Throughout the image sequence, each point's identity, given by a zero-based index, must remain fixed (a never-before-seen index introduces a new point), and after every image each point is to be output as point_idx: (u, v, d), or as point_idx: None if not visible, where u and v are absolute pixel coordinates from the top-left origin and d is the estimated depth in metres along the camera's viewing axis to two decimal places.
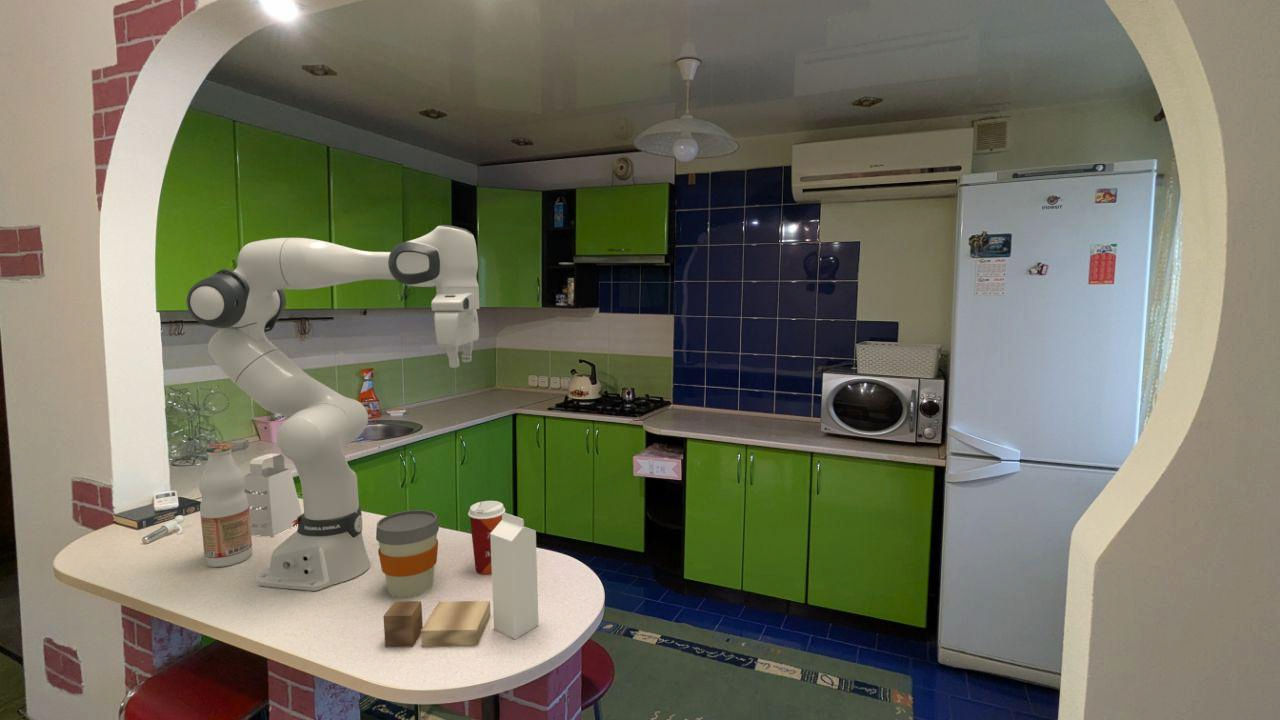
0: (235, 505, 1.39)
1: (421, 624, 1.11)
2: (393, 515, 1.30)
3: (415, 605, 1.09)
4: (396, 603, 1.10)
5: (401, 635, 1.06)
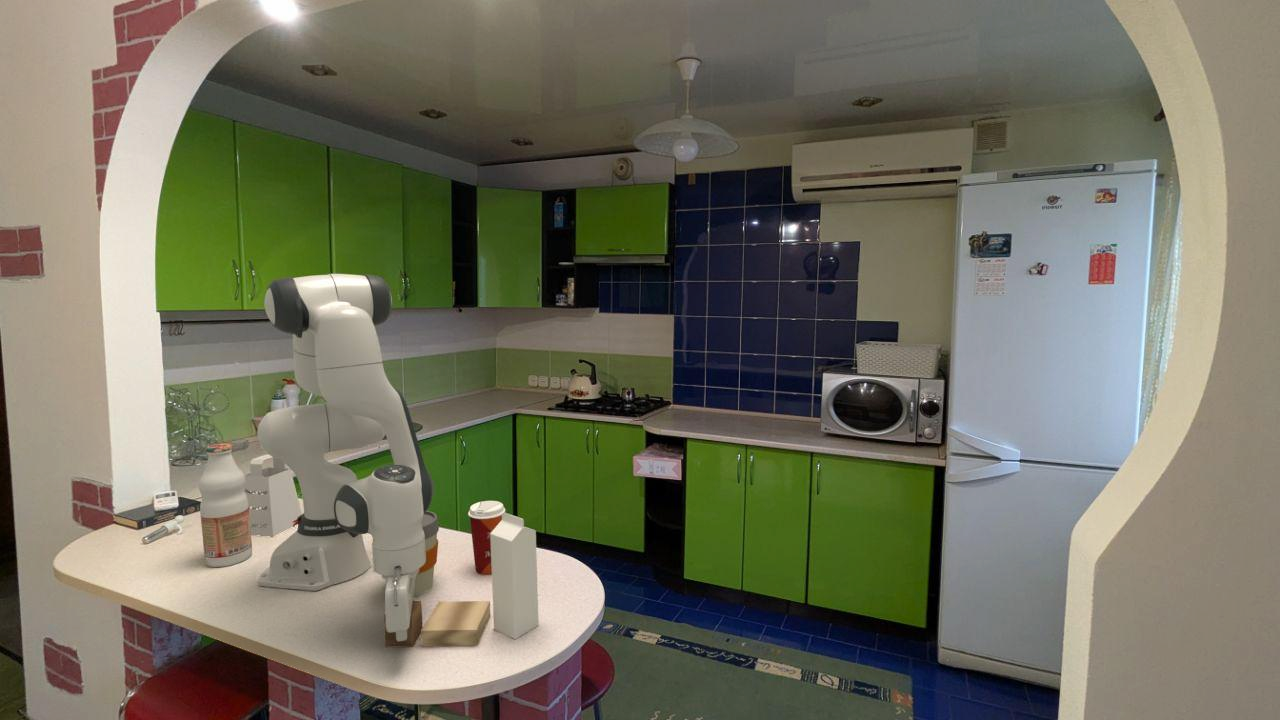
0: (235, 505, 1.39)
1: (421, 624, 1.11)
2: None
3: (415, 605, 1.09)
4: None
5: None
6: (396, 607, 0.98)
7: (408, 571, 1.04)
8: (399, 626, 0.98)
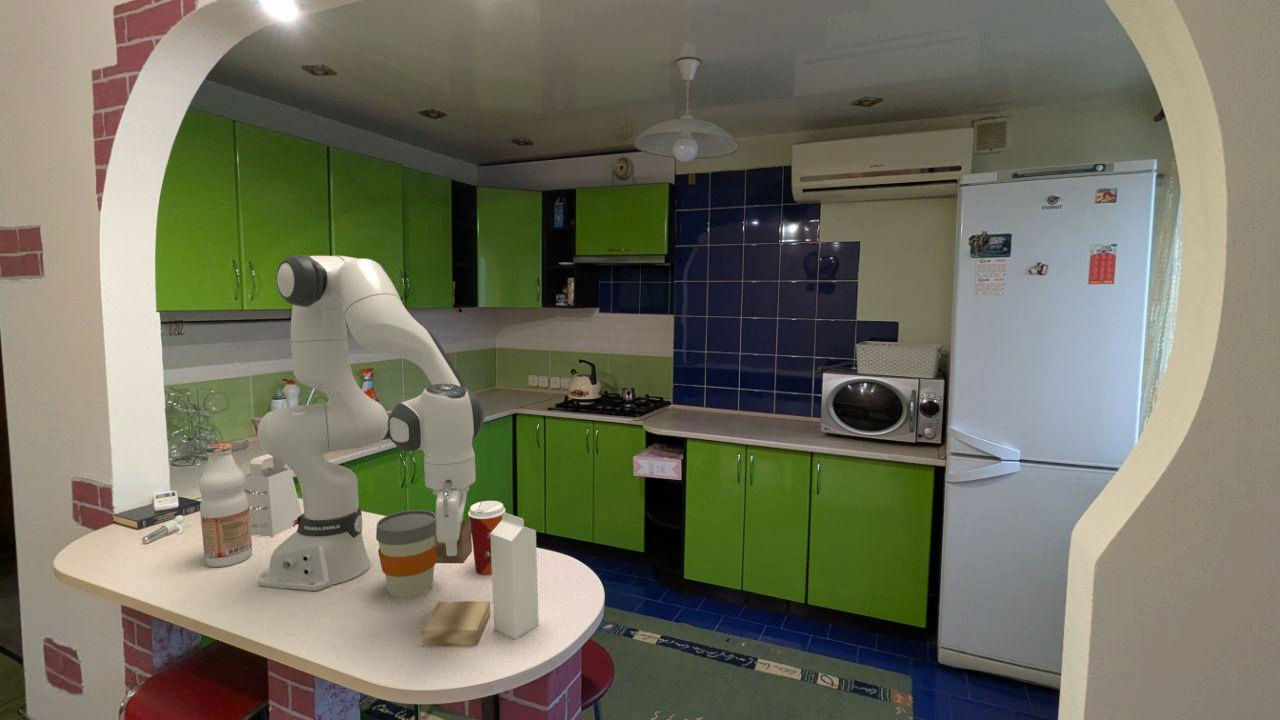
0: (235, 505, 1.39)
1: (470, 544, 1.11)
2: (393, 515, 1.30)
3: (464, 524, 1.10)
4: None
5: None
6: (446, 517, 0.99)
7: (458, 486, 1.05)
8: (449, 536, 0.99)
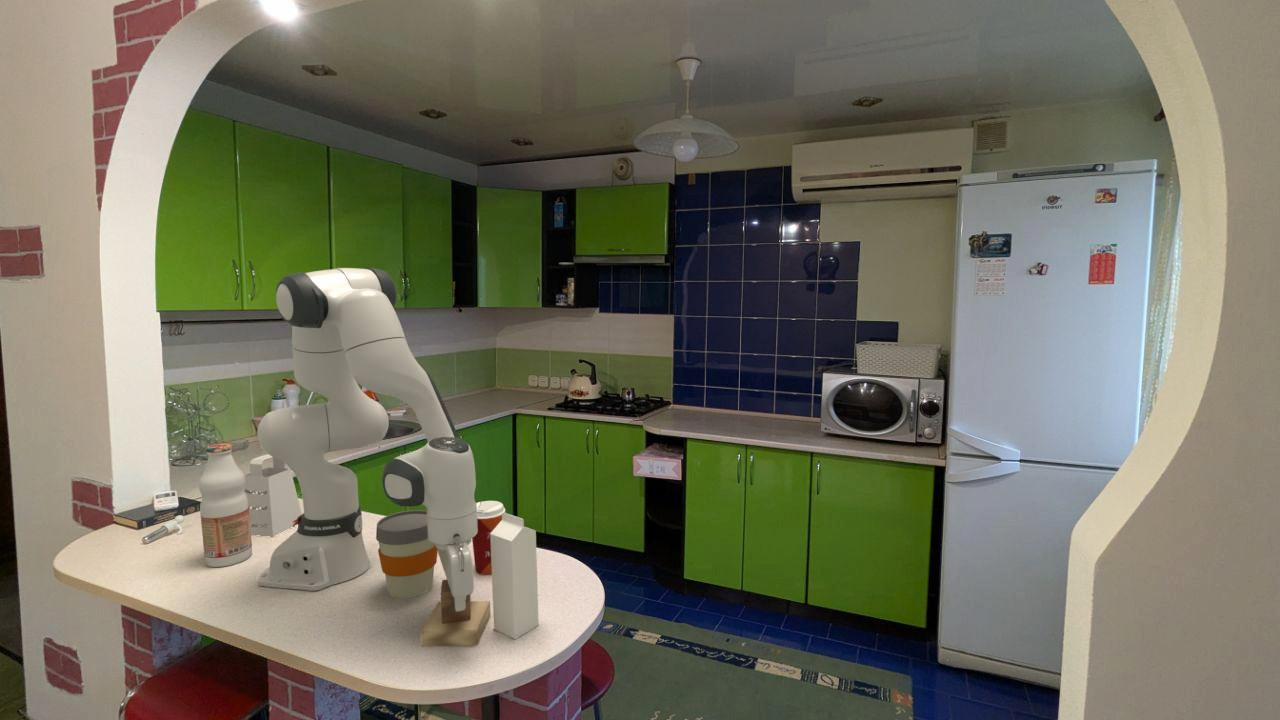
0: (235, 505, 1.39)
1: (470, 599, 1.13)
2: (393, 515, 1.30)
3: None
4: (445, 581, 1.12)
5: None
6: (462, 572, 1.01)
7: (466, 539, 1.06)
8: (465, 590, 1.01)
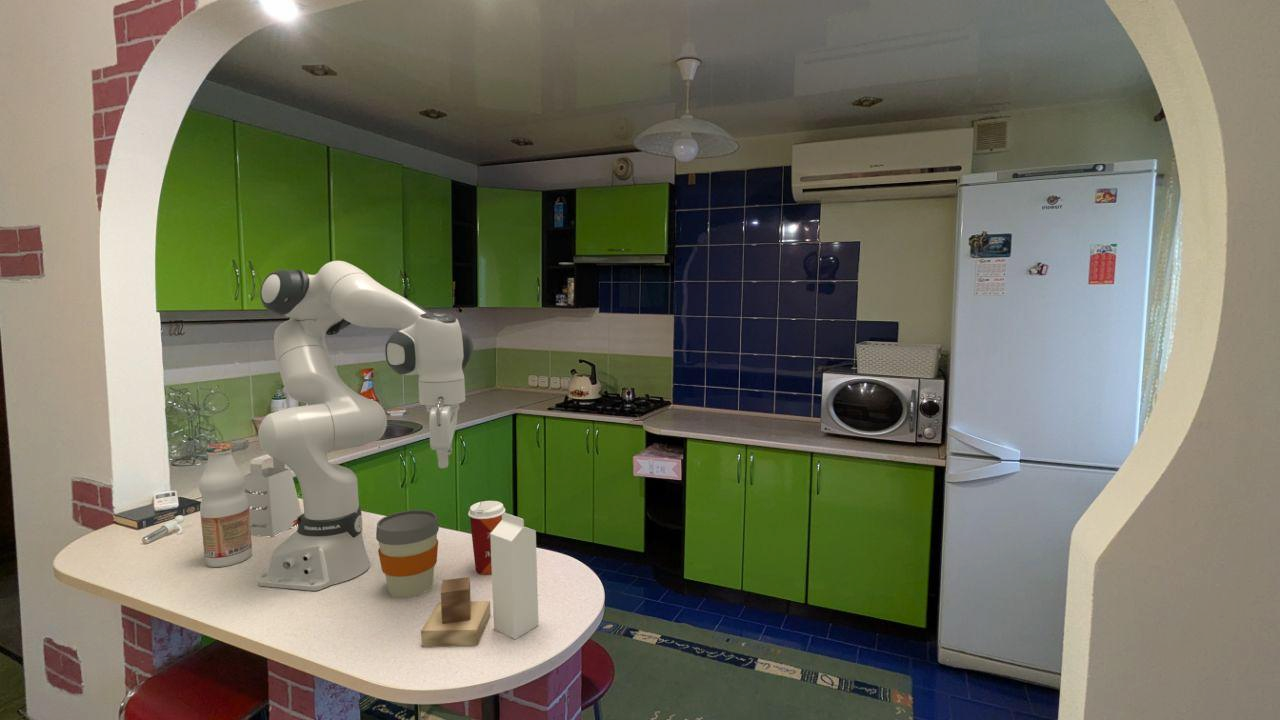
0: (235, 505, 1.39)
1: (470, 599, 1.13)
2: (393, 515, 1.30)
3: (466, 581, 1.12)
4: (445, 581, 1.12)
5: (458, 610, 1.09)
6: (439, 426, 1.10)
7: (449, 403, 1.16)
8: (441, 444, 1.11)
